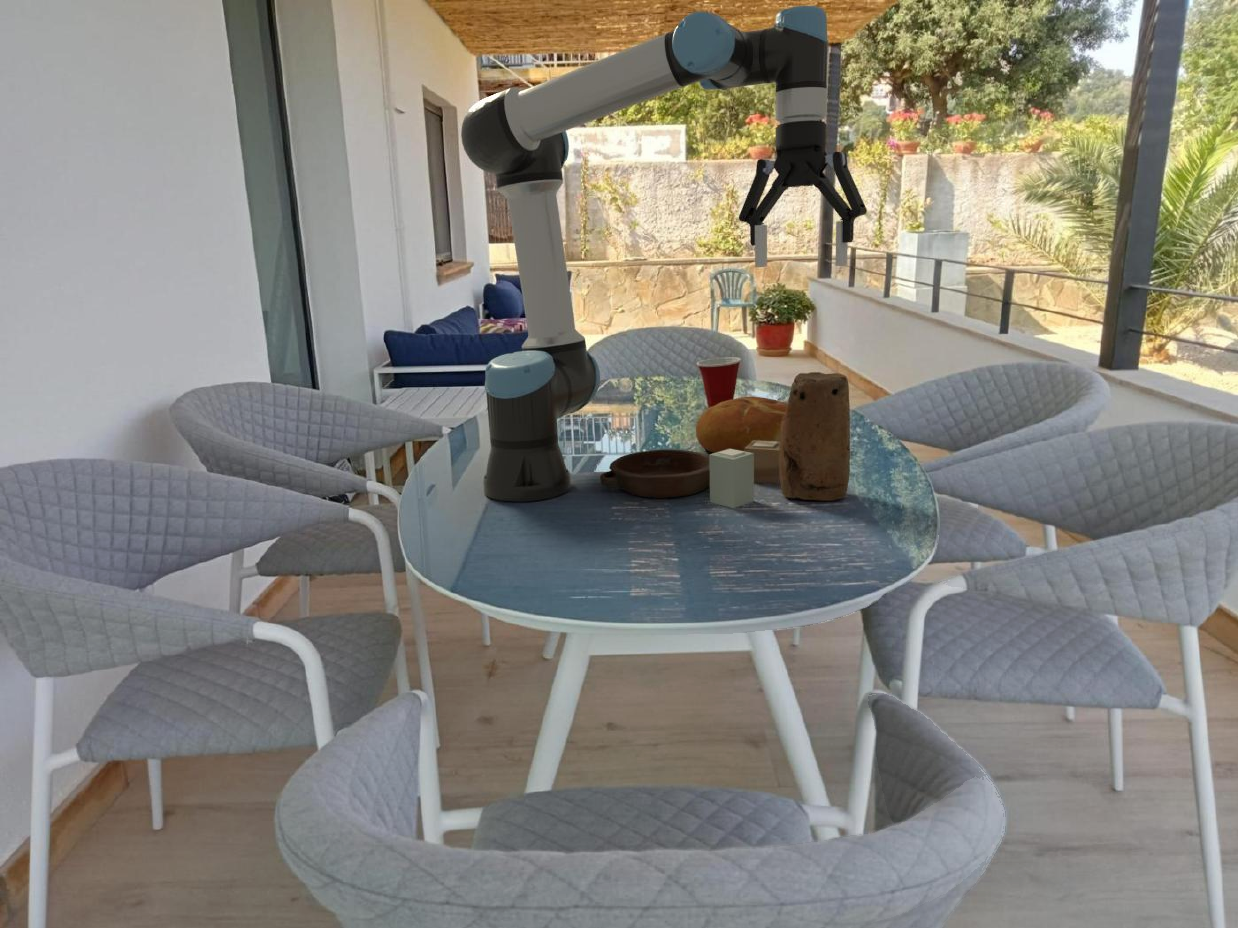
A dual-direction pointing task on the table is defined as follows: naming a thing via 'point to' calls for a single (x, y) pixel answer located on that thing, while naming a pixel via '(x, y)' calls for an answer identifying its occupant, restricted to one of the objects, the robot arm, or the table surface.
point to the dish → (659, 473)
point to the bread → (740, 423)
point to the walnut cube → (765, 460)
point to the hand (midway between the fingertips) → (800, 266)
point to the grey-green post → (731, 478)
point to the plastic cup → (719, 378)
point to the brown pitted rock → (816, 438)
